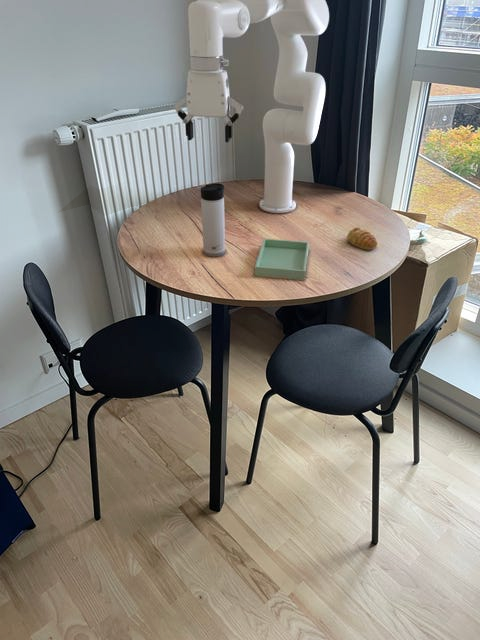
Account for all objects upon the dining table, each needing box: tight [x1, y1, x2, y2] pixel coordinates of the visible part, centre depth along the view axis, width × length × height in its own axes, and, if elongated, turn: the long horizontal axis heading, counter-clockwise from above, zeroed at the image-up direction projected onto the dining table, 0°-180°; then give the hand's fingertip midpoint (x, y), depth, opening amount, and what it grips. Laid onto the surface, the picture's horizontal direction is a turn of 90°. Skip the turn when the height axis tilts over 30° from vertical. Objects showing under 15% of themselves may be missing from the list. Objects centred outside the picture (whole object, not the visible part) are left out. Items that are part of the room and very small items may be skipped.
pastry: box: [346, 227, 378, 251], centre depth 143 cm, size 9×7×4 cm
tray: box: [254, 238, 310, 281], centre depth 134 cm, size 17×13×3 cm
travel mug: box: [200, 183, 226, 258], centre depth 135 cm, size 6×7×20 cm
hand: (209, 140), depth 123 cm, fingers open, 9 cm apart
